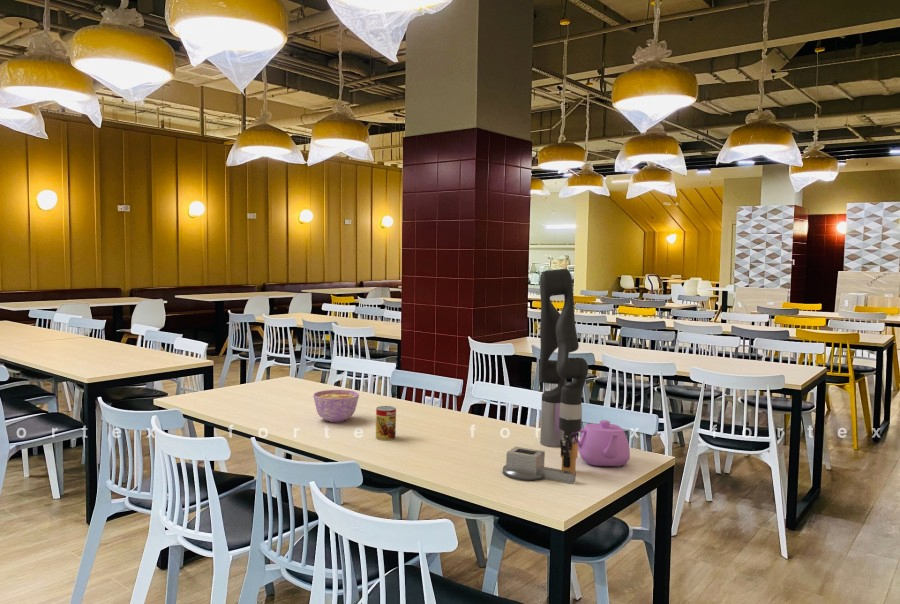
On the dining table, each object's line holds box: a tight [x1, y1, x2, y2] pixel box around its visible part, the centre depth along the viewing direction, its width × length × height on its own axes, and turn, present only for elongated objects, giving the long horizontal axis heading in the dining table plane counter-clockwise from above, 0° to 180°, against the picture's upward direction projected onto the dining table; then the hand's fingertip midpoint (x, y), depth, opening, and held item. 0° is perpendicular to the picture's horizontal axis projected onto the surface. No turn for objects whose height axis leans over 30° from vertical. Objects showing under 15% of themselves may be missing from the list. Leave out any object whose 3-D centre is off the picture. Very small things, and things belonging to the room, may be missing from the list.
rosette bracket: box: [502, 446, 577, 485], centre depth 214 cm, size 15×24×8 cm, turn 62°
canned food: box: [375, 405, 397, 441], centre depth 257 cm, size 8×8×12 cm
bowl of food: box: [312, 389, 360, 423], centre depth 283 cm, size 20×20×12 cm
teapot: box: [576, 419, 631, 467], centre depth 229 cm, size 23×21×15 cm
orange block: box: [560, 443, 579, 472], centre depth 220 cm, size 3×5×10 cm, turn 62°
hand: (568, 465), depth 220 cm, fingers open, 4 cm apart
